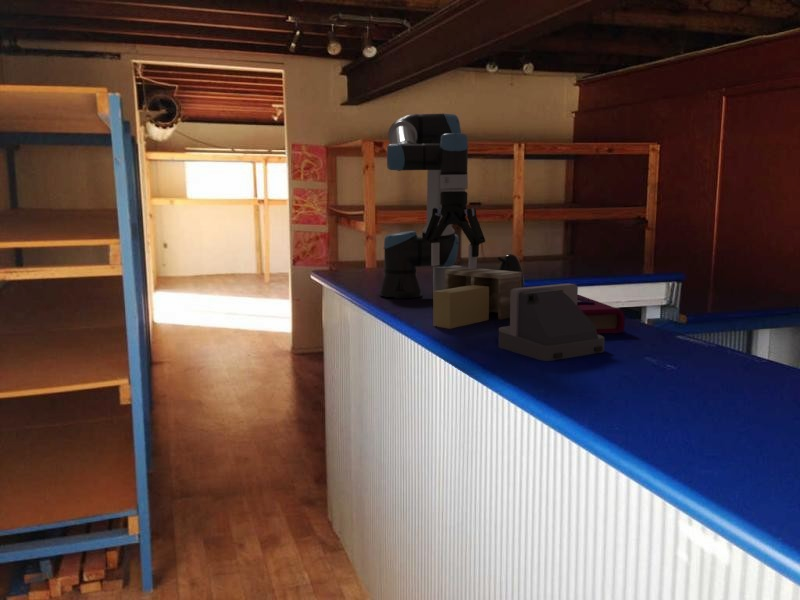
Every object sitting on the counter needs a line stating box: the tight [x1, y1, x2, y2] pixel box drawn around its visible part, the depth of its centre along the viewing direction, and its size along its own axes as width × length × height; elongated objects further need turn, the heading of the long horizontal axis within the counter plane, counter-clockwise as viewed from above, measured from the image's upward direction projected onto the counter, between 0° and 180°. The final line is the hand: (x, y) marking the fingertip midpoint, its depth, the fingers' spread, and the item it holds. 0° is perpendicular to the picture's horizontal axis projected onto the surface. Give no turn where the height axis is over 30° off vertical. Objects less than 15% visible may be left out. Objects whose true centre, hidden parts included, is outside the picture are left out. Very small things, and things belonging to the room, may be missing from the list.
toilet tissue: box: [432, 264, 468, 292], centre depth 259 cm, size 11×12×10 cm
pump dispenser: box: [497, 253, 525, 288], centre depth 249 cm, size 10×10×15 cm
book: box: [577, 294, 626, 335], centre depth 193 cm, size 21×28×8 cm
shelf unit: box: [445, 266, 523, 320], centre depth 213 cm, size 22×10×13 cm, turn 46°
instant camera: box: [498, 283, 605, 362], centre depth 162 cm, size 21×21×15 cm
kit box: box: [432, 285, 490, 330], centre depth 197 cm, size 6×18×10 cm, turn 136°
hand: (453, 267), depth 193 cm, fingers open, 13 cm apart
